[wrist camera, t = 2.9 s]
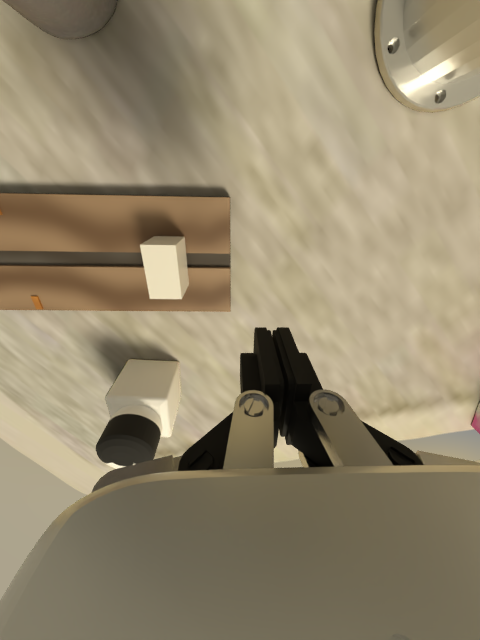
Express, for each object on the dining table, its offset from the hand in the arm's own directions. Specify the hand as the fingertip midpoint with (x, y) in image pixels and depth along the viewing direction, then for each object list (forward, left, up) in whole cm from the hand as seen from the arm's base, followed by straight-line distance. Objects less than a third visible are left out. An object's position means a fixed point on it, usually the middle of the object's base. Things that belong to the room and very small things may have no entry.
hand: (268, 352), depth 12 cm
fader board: (0, -16, -17) cm, 23 cm away
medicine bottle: (+18, -13, -17) cm, 28 cm away
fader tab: (0, -8, -15) cm, 18 cm away
